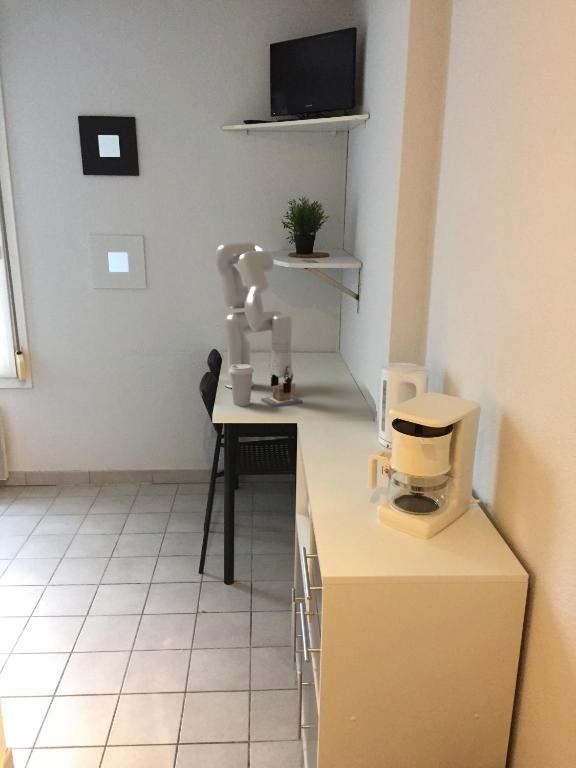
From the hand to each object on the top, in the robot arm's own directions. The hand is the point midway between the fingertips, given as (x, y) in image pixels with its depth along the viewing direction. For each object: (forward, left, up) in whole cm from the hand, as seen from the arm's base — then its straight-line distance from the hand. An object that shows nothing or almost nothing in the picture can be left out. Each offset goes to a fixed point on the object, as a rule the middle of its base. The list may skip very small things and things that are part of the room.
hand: (280, 389), depth 257 cm
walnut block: (+1, 0, -4) cm, 4 cm away
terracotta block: (-7, +7, -5) cm, 11 cm away
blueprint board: (+1, 0, -5) cm, 5 cm away
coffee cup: (-5, -15, -5) cm, 16 cm away
